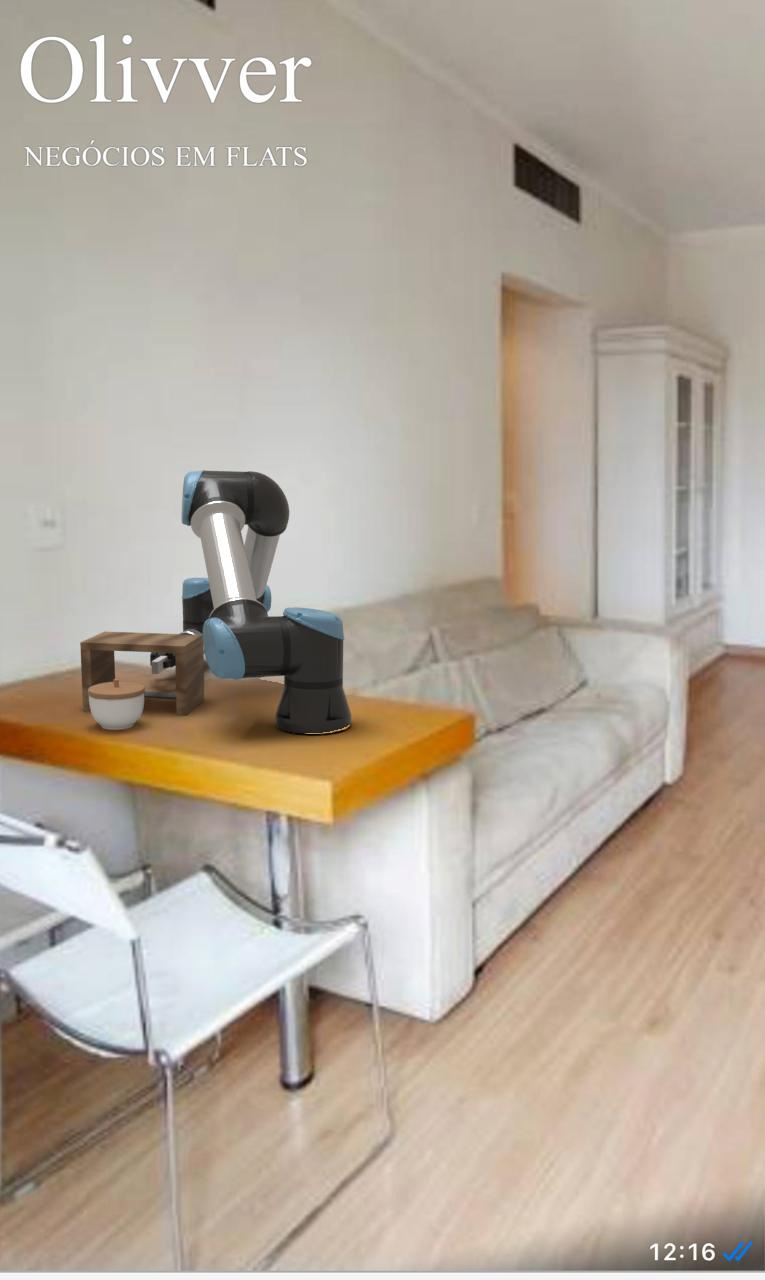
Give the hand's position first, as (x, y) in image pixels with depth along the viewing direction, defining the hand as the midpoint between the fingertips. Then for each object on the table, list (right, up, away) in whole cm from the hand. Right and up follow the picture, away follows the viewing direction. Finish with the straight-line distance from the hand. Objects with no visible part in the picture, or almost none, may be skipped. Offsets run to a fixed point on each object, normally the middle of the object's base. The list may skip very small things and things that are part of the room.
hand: (154, 667), depth 211 cm
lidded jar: (-2, -11, -21) cm, 24 cm away
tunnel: (-1, -8, -6) cm, 10 cm away
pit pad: (0, -6, +3) cm, 7 cm away
